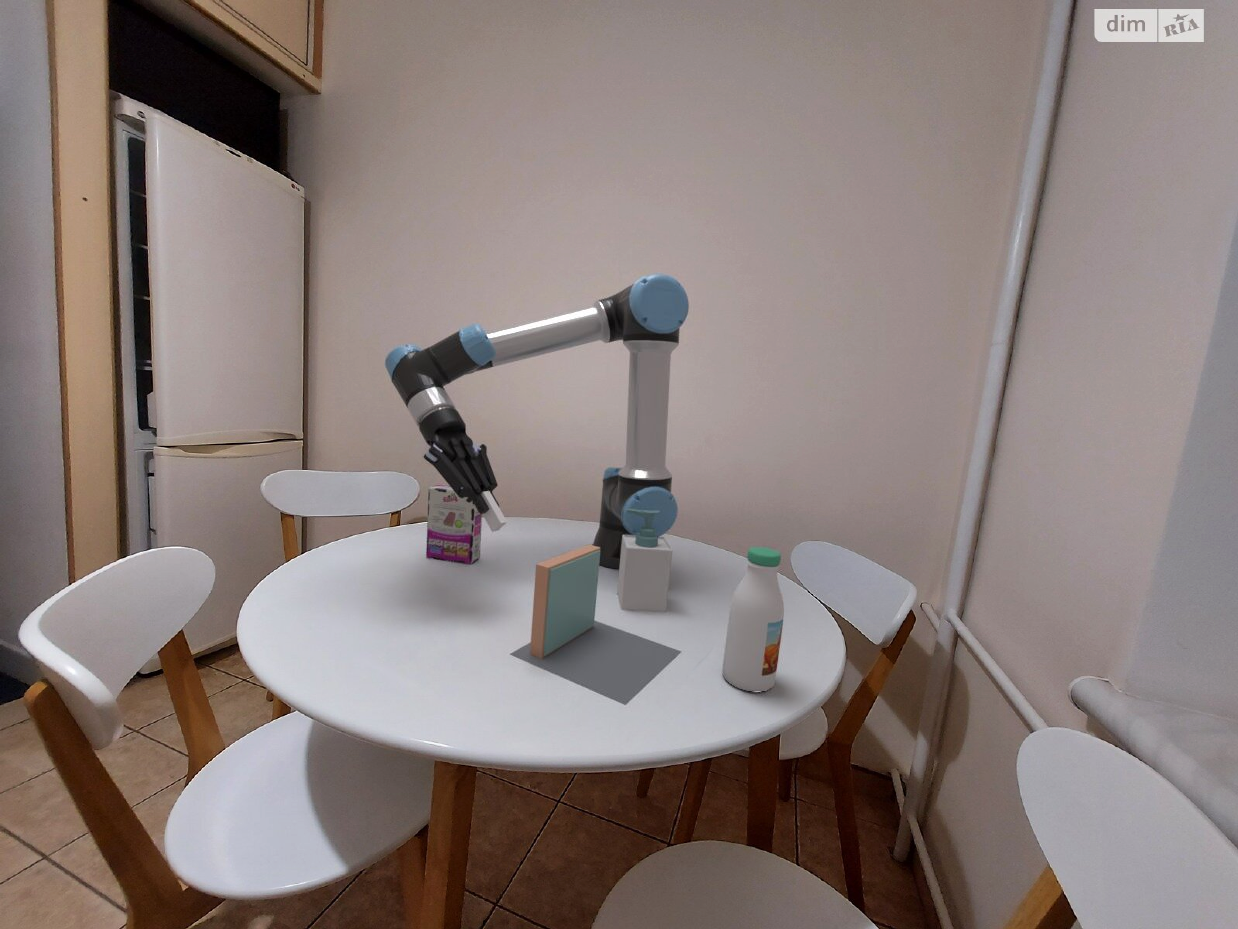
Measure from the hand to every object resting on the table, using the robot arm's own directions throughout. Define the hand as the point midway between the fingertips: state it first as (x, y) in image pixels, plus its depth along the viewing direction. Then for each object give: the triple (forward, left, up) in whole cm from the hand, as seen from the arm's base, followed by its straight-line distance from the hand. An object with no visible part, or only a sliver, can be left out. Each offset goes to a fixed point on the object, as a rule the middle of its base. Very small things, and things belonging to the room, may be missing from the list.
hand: (499, 526), depth 88 cm
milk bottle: (-20, +38, -17) cm, 46 cm away
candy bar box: (-8, -32, -17) cm, 37 cm away
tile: (-4, +14, -16) cm, 22 cm away
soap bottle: (-26, +10, -17) cm, 33 cm away
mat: (-6, +21, -16) cm, 27 cm away
